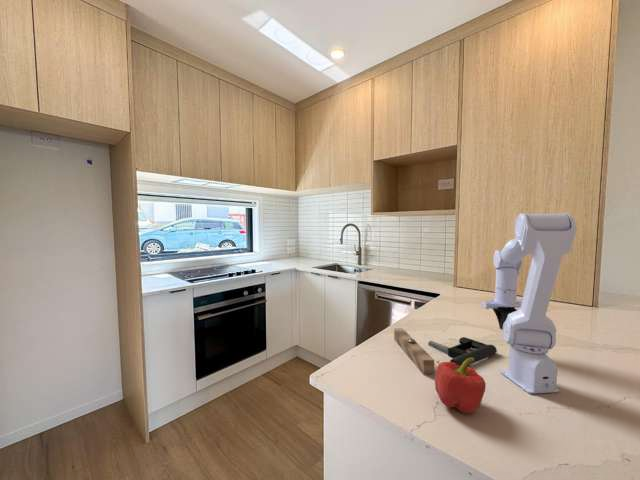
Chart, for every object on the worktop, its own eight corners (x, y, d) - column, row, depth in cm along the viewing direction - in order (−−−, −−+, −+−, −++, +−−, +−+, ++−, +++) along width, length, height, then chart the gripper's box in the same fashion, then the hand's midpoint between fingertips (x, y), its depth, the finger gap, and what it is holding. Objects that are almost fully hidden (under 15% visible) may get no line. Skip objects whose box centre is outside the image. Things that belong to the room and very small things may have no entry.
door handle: (415, 343, 87) (462, 362, 73) (454, 331, 96) (502, 346, 82) (416, 353, 87) (462, 374, 73) (454, 340, 96) (502, 357, 82)
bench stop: (433, 373, 73) (434, 357, 72) (423, 374, 72) (423, 358, 72) (402, 339, 95) (402, 326, 94) (393, 339, 94) (394, 326, 94)
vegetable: (453, 384, 68) (454, 347, 67) (496, 410, 59) (497, 366, 58) (423, 398, 63) (424, 357, 62) (465, 428, 54) (467, 380, 53)
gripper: (516, 284, 89) (514, 324, 90) (476, 285, 88) (474, 325, 89) (535, 290, 82) (533, 332, 83) (491, 291, 81) (489, 334, 82)
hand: (504, 329), depth 86 cm, fingers closed
